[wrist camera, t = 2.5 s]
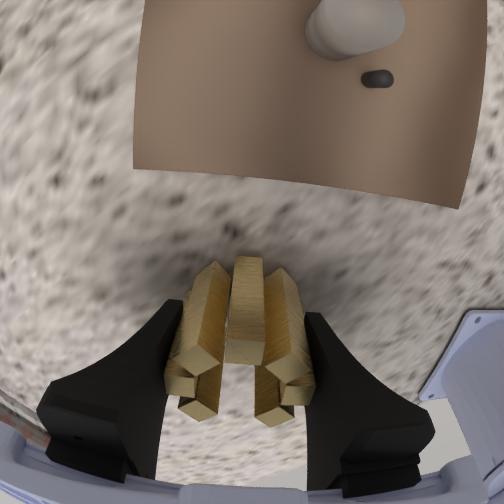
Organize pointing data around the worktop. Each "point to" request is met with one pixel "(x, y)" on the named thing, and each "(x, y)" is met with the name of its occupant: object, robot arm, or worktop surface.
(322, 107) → the post base
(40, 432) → the packaged product
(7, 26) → the worktop surface
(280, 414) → the wooden block ring
